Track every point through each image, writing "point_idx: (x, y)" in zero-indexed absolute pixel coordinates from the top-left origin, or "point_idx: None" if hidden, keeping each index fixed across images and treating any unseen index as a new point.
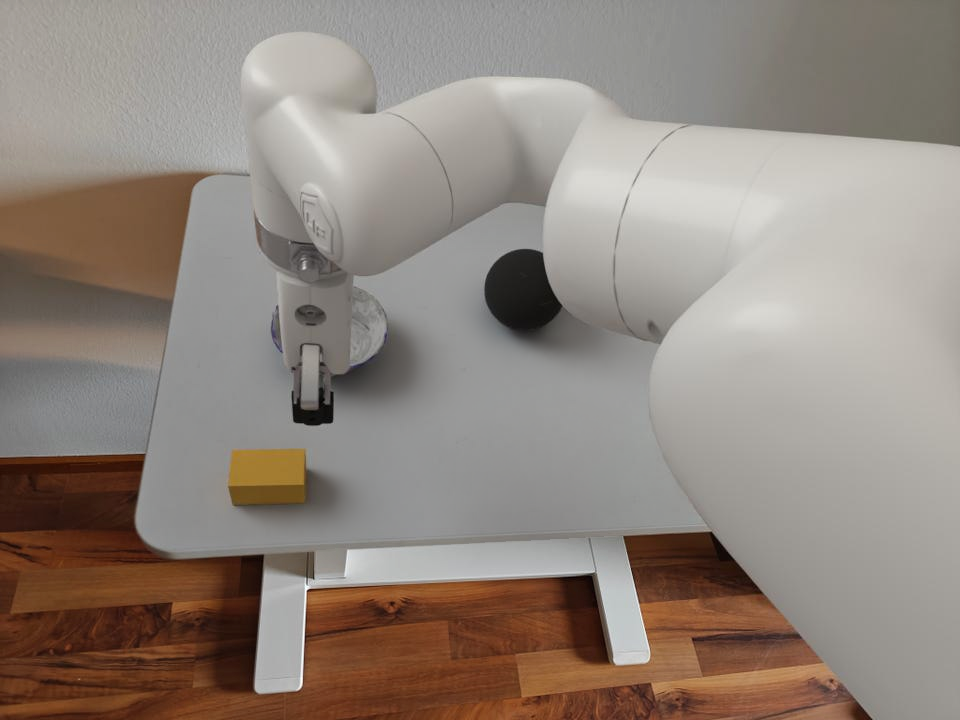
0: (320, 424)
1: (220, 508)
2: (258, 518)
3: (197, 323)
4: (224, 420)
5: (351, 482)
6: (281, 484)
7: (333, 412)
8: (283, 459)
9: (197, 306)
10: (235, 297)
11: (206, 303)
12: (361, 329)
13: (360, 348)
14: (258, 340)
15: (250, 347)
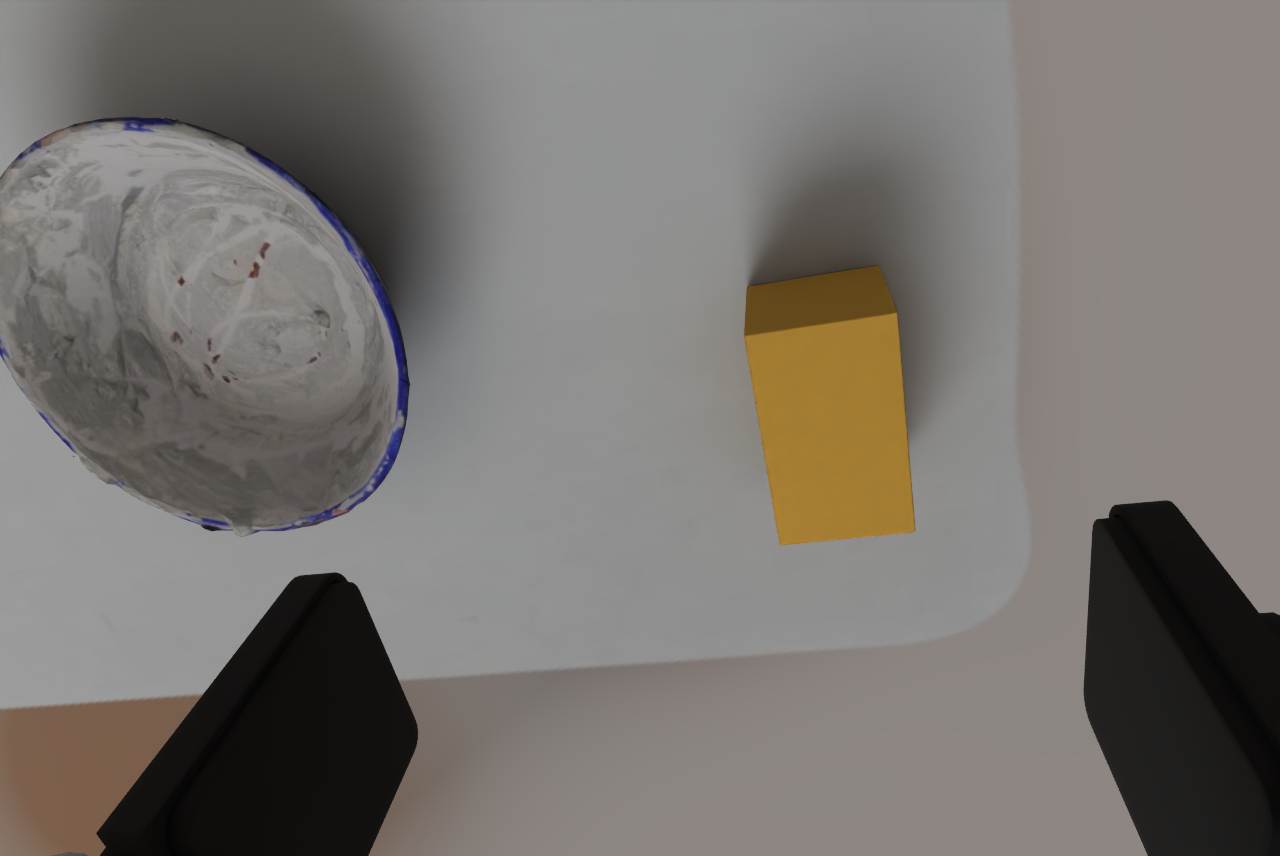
0: (1265, 613)
1: None
2: (939, 388)
3: None
4: (624, 533)
5: (783, 120)
6: (901, 385)
7: (1173, 556)
8: (797, 396)
9: None
10: (221, 582)
11: None
12: (148, 214)
13: (229, 201)
14: None
15: (365, 518)
